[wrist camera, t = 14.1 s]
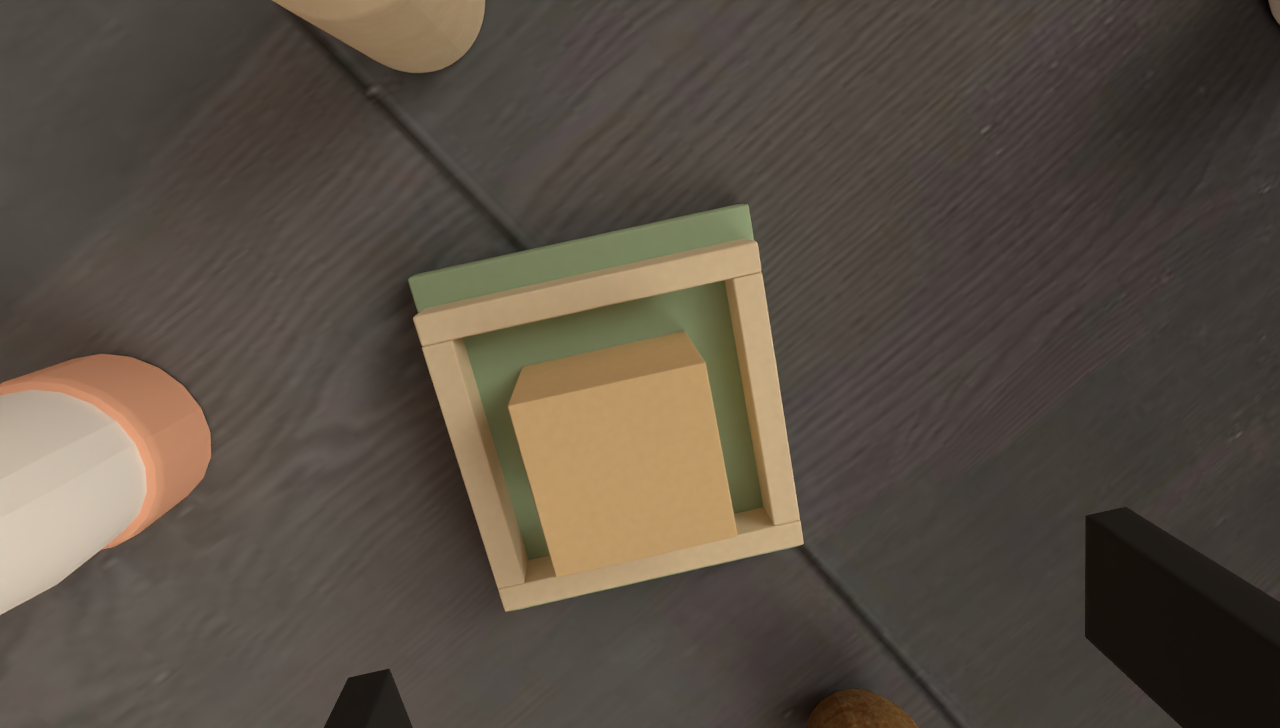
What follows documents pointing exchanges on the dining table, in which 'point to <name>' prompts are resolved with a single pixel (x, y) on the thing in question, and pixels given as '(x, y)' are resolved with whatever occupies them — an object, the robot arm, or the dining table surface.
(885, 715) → the fruit
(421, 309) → the base pad
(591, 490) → the tan rectangular block
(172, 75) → the dining table surface
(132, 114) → the dining table surface
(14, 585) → the pepper shaker
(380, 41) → the candle
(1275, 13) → the pill bottle
